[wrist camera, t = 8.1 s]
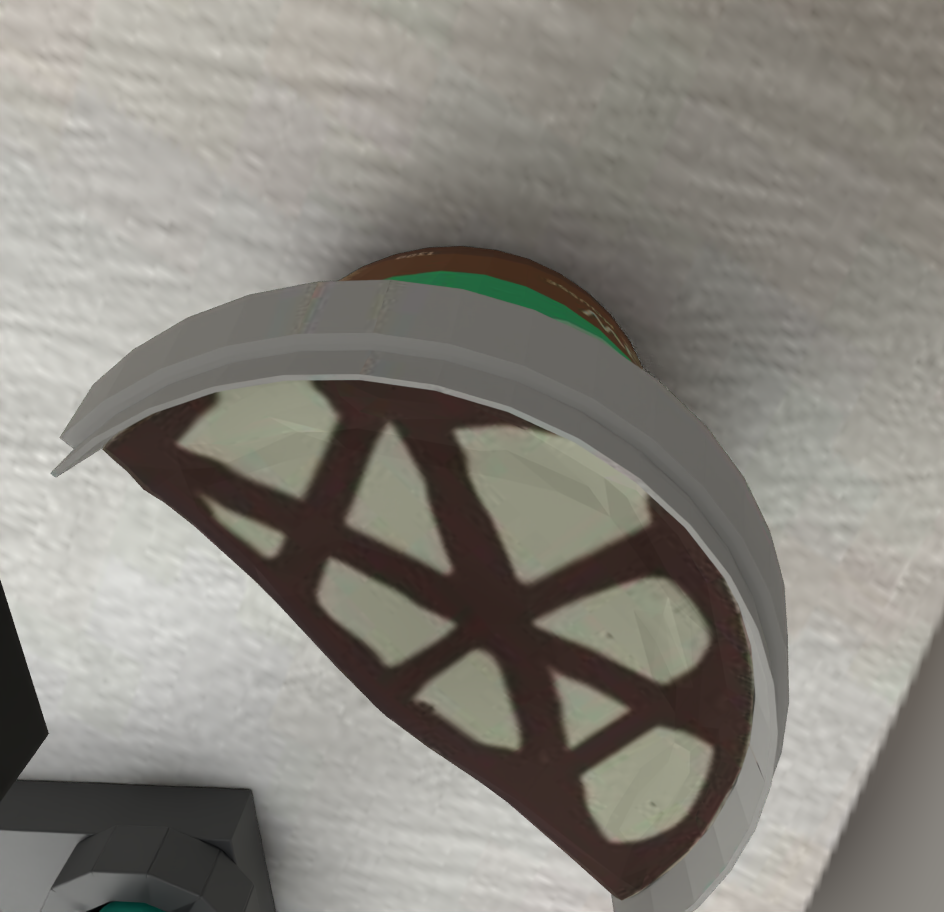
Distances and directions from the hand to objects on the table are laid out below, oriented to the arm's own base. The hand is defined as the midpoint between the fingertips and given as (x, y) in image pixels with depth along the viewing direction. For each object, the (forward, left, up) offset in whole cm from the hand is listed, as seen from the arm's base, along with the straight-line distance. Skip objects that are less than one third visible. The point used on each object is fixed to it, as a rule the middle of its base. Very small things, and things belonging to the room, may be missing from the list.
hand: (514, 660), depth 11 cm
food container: (0, 0, -11) cm, 11 cm away
